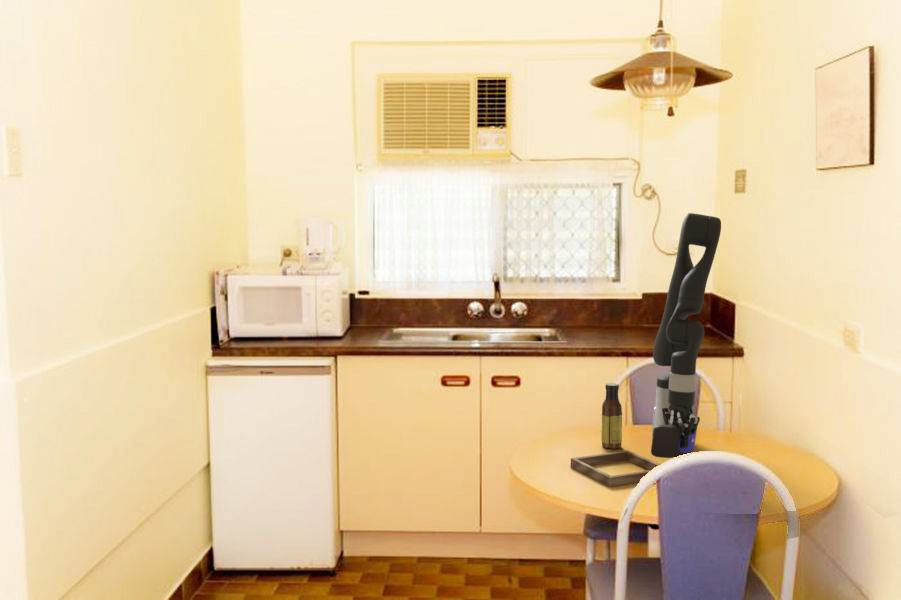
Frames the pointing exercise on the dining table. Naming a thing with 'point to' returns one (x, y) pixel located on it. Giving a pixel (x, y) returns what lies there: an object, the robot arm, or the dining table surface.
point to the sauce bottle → (611, 418)
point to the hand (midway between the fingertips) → (678, 445)
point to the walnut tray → (585, 462)
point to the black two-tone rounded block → (670, 441)
